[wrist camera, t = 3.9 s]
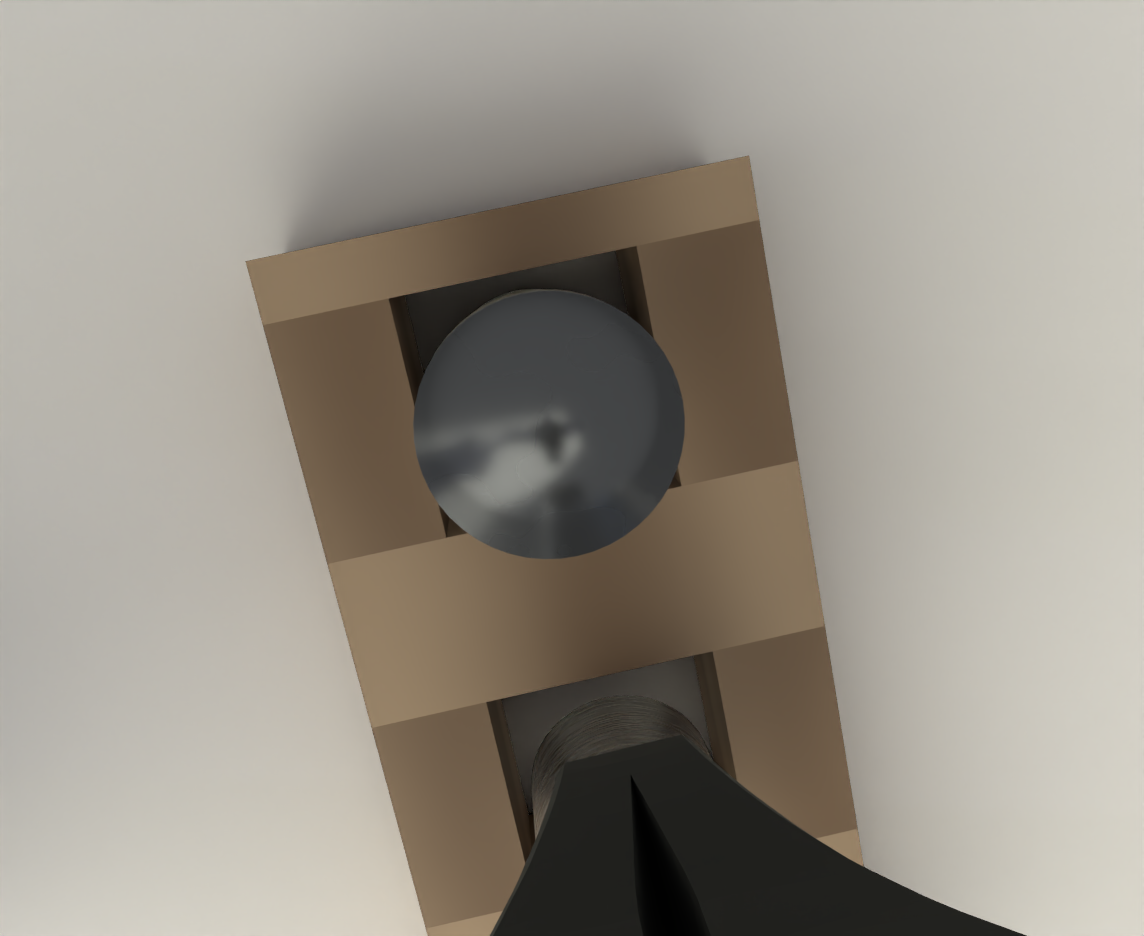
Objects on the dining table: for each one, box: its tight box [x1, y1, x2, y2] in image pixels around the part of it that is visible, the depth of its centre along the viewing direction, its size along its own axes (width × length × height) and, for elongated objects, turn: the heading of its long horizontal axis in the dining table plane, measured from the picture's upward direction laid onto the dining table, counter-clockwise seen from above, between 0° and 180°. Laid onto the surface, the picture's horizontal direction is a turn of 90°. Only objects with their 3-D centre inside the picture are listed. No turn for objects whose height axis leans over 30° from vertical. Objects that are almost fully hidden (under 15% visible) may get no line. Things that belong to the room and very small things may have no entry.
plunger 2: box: [531, 695, 711, 840], centre depth 16 cm, size 4×4×6 cm
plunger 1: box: [413, 289, 685, 559], centre depth 17 cm, size 4×4×6 cm
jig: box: [246, 156, 864, 936], centre depth 20 cm, size 8×20×3 cm, turn 12°
